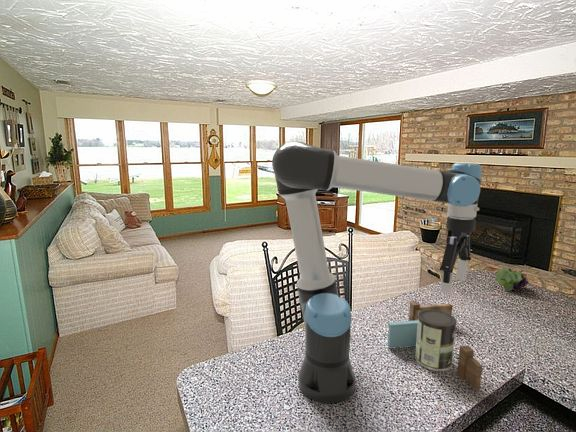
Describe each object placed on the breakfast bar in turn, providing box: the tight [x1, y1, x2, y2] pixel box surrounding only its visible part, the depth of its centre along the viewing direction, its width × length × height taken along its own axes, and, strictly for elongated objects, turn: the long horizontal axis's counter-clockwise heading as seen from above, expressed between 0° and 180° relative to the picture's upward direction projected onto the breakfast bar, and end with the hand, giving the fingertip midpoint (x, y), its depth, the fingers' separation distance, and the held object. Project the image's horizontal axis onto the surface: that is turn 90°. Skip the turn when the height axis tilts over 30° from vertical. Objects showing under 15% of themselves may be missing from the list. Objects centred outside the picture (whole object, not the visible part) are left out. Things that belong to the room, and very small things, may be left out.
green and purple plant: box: [494, 266, 529, 292], centre depth 151 cm, size 10×11×15 cm
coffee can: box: [414, 309, 457, 372], centre depth 99 cm, size 10×10×14 cm
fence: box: [408, 301, 483, 391], centre depth 104 cm, size 15×34×9 cm, turn 8°
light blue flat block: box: [387, 320, 418, 349], centre depth 107 cm, size 15×2×8 cm, turn 98°
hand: (453, 286), depth 102 cm, fingers open, 13 cm apart
